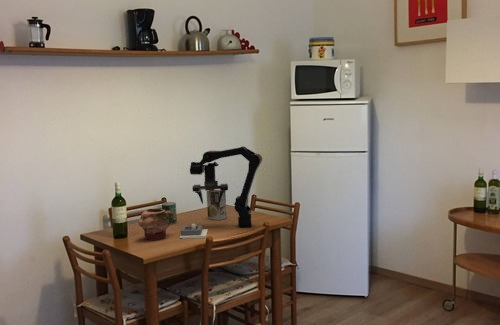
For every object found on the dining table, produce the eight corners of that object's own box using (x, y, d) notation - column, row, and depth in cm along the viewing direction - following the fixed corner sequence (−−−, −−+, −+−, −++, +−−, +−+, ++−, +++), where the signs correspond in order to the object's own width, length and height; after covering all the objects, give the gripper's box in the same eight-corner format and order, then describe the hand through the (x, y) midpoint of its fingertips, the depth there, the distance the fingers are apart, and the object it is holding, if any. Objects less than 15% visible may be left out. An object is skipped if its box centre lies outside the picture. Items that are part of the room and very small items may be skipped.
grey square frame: (202, 230, 283) (202, 225, 282) (200, 235, 273) (200, 230, 272) (182, 230, 283) (182, 226, 282) (180, 235, 273) (180, 230, 272)
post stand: (207, 231, 284) (207, 220, 284) (206, 237, 271) (205, 226, 271) (182, 232, 284) (182, 221, 283) (179, 238, 271) (179, 227, 270)
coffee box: (227, 218, 313) (225, 190, 311) (220, 220, 307) (219, 192, 305) (214, 216, 318) (212, 189, 316) (207, 218, 312) (206, 190, 310)
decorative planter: (165, 231, 287) (164, 205, 285) (181, 234, 279) (179, 207, 277) (133, 239, 272) (132, 211, 271) (148, 243, 264) (147, 215, 262)
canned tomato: (178, 221, 309) (177, 201, 307) (175, 224, 301) (174, 204, 300) (164, 221, 310) (163, 202, 308) (160, 224, 302) (159, 205, 300)
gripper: (190, 177, 285) (192, 207, 287) (227, 176, 285) (228, 205, 287) (192, 174, 296) (194, 202, 298) (227, 173, 296) (228, 201, 298)
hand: (211, 203), depth 295 cm, fingers open, 9 cm apart
